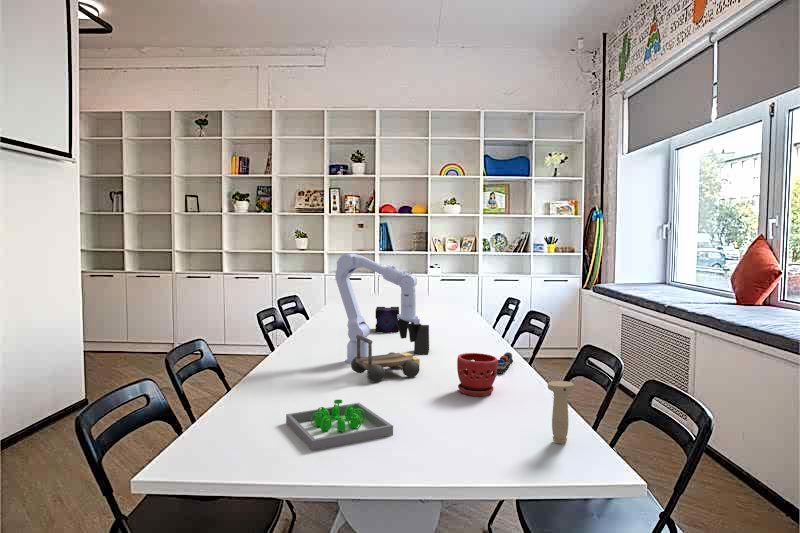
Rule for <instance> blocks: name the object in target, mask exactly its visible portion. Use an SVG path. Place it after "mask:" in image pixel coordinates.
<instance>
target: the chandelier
mask: <svg viewBox="0 0 800 533" xmlns="http://www.w3.org/2000/svg"><path fill="white" fill-rule="evenodd" d="M333 403H334V404H333V406H331V407H332V416H329V412H328V410H327V409H326V408H327V407H324V406H321V407H318V408H317V409H318V410H319V409H321V410H320V412H318V410H317V412H316V413H314V414H313V415H312V417H313V416H314V415H315V414H316V415H315V420H314V423H313V422H312V421H313V420H312V417H311V420H310V422H311V425H312V427H315V428H317V427H320V429H321V432H323V433H325V432H326V431H330V430H331V427H332V423H333V422H335V421H337V422H336V430H337V431H338V432H340V434H344V431H345V430H346V421H347V425H348V426H349V428H351V429H355V430H359V429H360V428H361V426H362V423H363V422H364V421H365V419H366V418H365V413H364V417H363V416H362V414H361V412H360V411H359V410H361V411H363V410H362V409H355V408H354V406H353V405H348V406H347V408H346V410H345V414H344V415H340V414H339V406H340V405H341V404H343V400H342V399H335V400H334V401H333ZM337 406H338V407H337ZM351 406H352V407H353V408H352V407H351ZM355 410H356V411H355ZM326 411H327V412H326ZM363 412H364V411H363ZM327 414H328V416H327ZM362 417H363V419H362ZM359 422H360V423H359ZM316 426H317V427H316Z"/></svg>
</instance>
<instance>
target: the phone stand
mask: <svg viewBox="0 0 800 533" xmlns="http://www.w3.org/2000/svg"><path fill="white" fill-rule="evenodd" d="M413 345H414V347H413V350H414V351H413V355H423V356H424V355H426V356H427V355H429V352H430V326H429V324H421V327H420V329H419V331H418V334H417V338H416V342H413Z"/></svg>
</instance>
